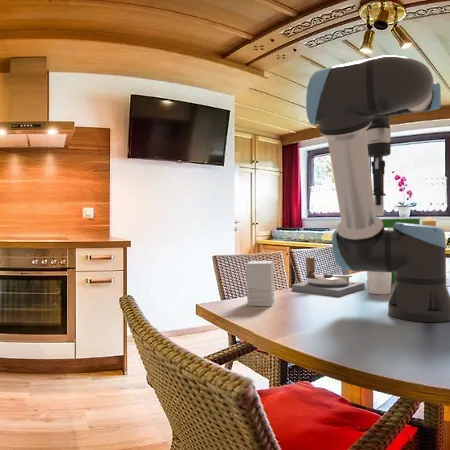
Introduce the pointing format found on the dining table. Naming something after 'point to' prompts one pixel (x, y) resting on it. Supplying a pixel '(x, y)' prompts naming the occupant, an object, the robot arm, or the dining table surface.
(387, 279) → the white cup
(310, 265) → the capstan dial
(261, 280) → the supplement box
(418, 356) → the dining table surface
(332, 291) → the dial base
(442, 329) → the dining table surface
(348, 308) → the dining table surface
